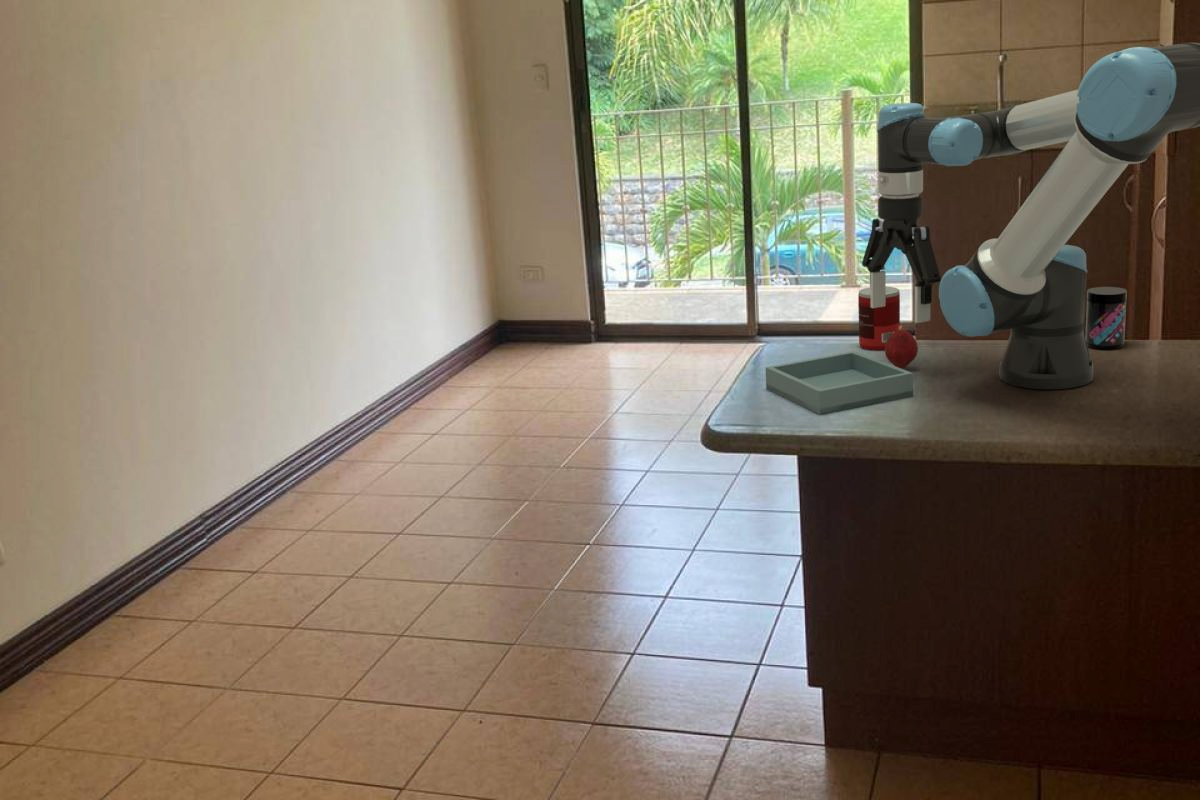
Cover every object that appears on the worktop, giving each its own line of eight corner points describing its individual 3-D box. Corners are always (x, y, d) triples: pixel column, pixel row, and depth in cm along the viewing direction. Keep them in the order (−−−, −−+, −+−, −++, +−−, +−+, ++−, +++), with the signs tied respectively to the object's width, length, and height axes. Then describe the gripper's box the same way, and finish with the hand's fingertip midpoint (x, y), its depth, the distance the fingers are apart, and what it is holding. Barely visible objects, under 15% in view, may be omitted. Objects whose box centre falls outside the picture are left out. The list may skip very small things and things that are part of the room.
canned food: (905, 342, 237) (905, 287, 234) (891, 352, 230) (891, 295, 227) (867, 339, 241) (867, 285, 238) (853, 349, 234) (852, 293, 231)
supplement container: (1079, 348, 223) (1081, 293, 220) (1092, 339, 228) (1094, 285, 225) (1117, 352, 219) (1119, 295, 216) (1129, 343, 224) (1132, 288, 221)
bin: (913, 396, 203) (913, 373, 202) (819, 414, 197) (819, 391, 196) (854, 372, 219) (853, 351, 218) (766, 389, 213) (765, 367, 212)
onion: (918, 372, 216) (918, 329, 214) (885, 373, 217) (885, 330, 215) (917, 364, 221) (916, 321, 219) (884, 364, 223) (884, 322, 220)
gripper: (842, 190, 220) (843, 304, 227) (925, 205, 198) (923, 331, 204) (878, 185, 223) (877, 298, 229) (963, 200, 200) (960, 324, 207)
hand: (899, 314), depth 217 cm, fingers open, 13 cm apart
